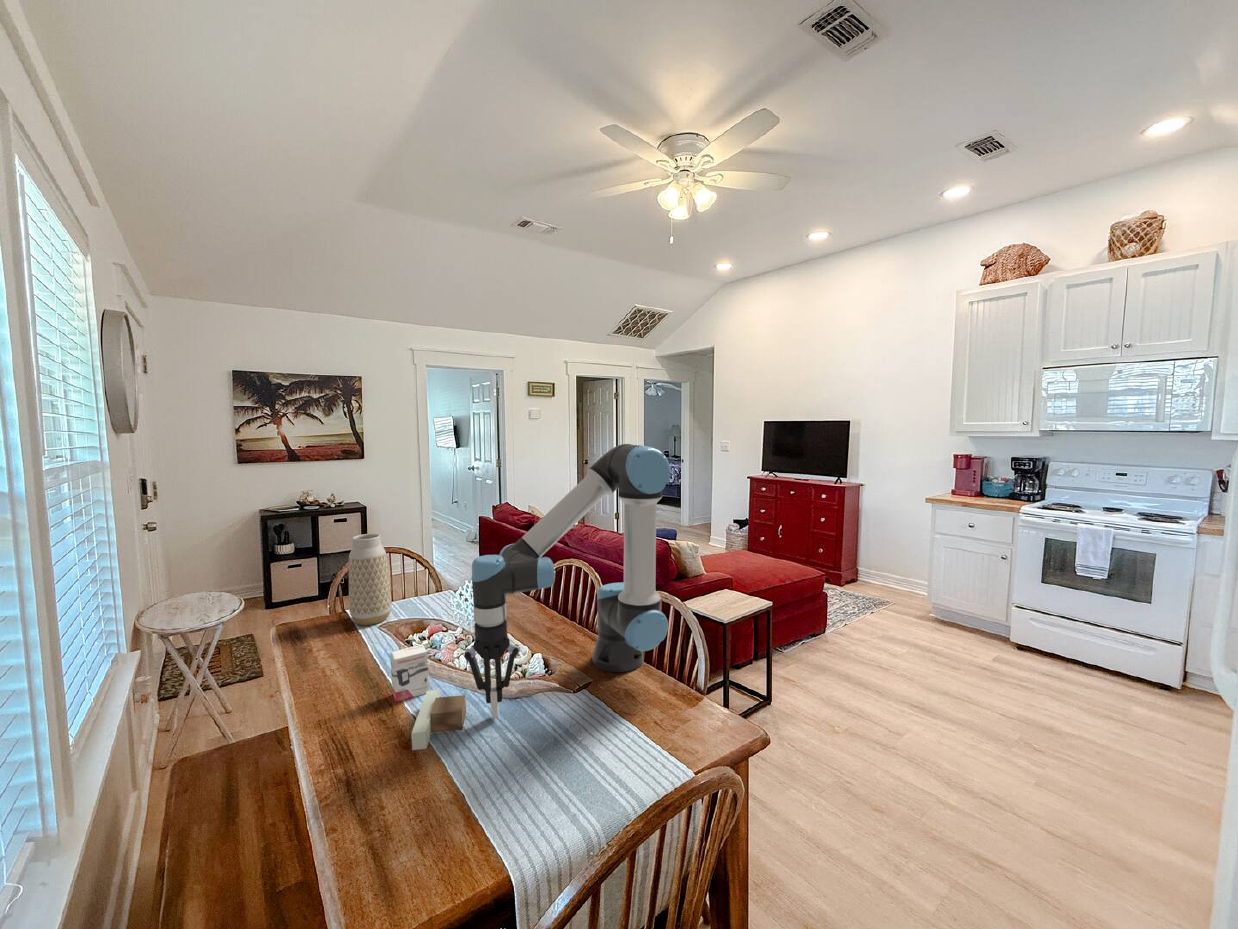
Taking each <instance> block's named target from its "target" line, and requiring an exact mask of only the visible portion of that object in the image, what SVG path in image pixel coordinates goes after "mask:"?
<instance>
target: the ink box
mask: <svg viewBox="0 0 1238 929" xmlns="http://www.w3.org/2000/svg"><path fill="white" fill-rule="evenodd" d="M389 654H390V655H389V656H390V671H391V672H390V674H391V686H392V687H391V689H392V696H393V699H394V700H395V702H396V703H398V702H401V701H405V700H408V699H412V698H414V697H415V698H416V697H419V696H422V695H426V692H427V691H430V680H429V679H430V678H429V662H428V661H429V660H428V650H427V648H426V647H425V646H424V645H423V644H419V645H418V644H417V645H413V646H410V647H406V648H402V649H397V650H394V651H392V652H390V653H389Z"/></svg>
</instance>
